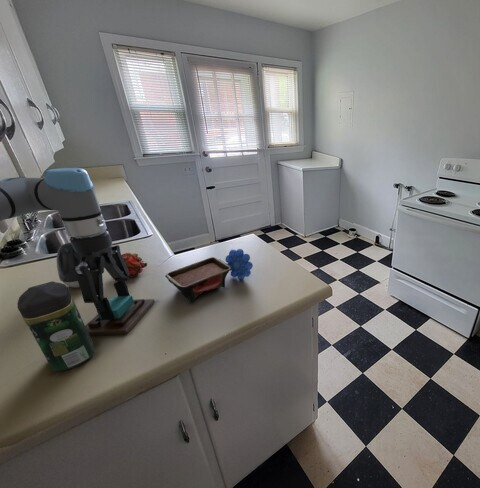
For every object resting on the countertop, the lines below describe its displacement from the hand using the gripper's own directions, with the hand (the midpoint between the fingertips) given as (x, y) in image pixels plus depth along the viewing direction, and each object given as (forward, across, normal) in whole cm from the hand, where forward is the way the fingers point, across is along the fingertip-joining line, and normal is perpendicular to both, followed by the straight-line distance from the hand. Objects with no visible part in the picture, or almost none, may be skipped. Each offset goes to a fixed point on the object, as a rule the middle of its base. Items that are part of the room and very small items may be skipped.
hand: (117, 309), depth 75 cm
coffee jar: (+3, -14, +2) cm, 15 cm away
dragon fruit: (+3, +26, +11) cm, 28 cm away
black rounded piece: (+3, +20, +24) cm, 31 cm away
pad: (0, 0, 0) cm, 0 cm away
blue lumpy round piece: (+3, +20, -30) cm, 36 cm away
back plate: (+3, 0, 0) cm, 3 cm away
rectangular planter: (+3, +14, -18) cm, 23 cm away
